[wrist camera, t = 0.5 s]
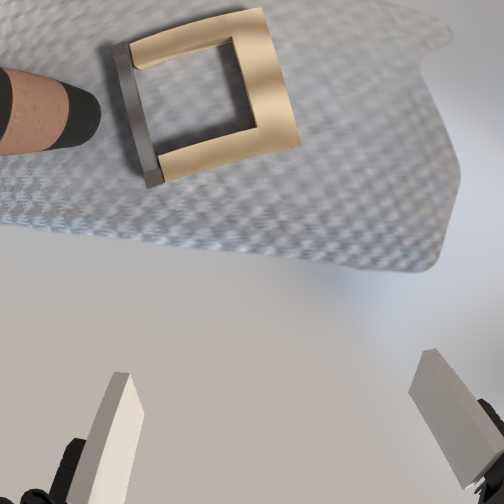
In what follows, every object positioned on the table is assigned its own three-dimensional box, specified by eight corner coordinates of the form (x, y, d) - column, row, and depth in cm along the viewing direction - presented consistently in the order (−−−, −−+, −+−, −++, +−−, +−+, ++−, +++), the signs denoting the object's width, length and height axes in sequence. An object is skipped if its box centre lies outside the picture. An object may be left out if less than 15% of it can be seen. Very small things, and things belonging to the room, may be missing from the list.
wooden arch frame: (122, 55, 29) (111, 47, 26) (259, 15, 29) (261, 2, 25) (155, 184, 35) (147, 188, 31) (296, 145, 34) (303, 145, 31)
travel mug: (62, 158, 33) (-53, 183, 14) (46, 108, 30) (-68, 102, 11) (111, 130, 32) (2, 127, 13) (93, 78, 30) (-13, 40, 11)
